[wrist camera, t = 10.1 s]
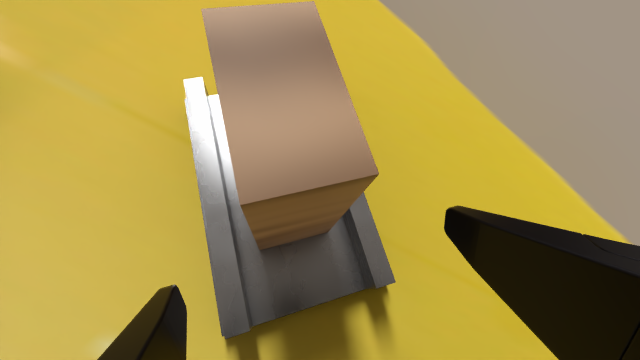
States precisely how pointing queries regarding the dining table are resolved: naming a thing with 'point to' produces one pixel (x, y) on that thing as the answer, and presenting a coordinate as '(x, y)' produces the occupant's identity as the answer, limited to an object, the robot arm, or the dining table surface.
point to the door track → (279, 261)
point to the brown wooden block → (286, 120)
